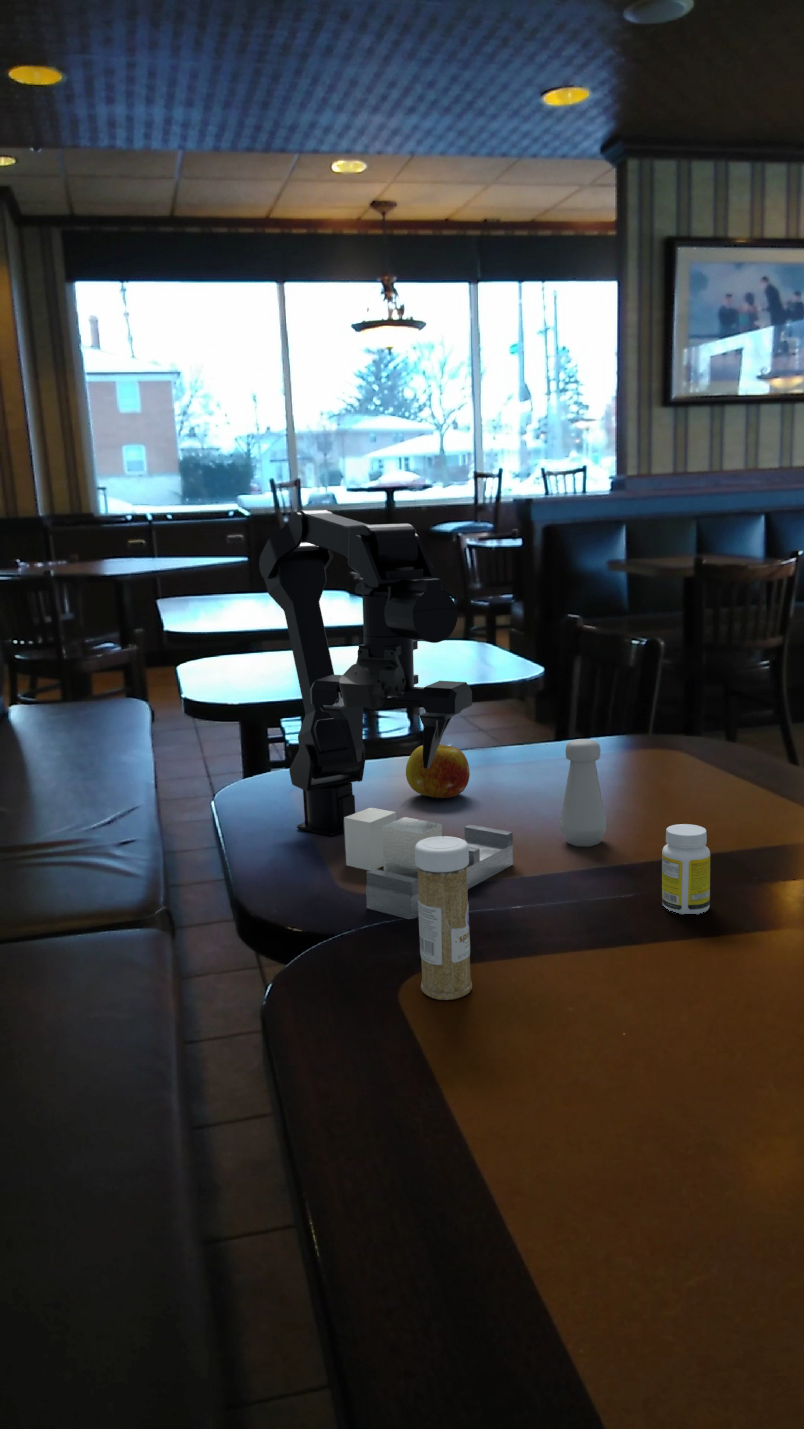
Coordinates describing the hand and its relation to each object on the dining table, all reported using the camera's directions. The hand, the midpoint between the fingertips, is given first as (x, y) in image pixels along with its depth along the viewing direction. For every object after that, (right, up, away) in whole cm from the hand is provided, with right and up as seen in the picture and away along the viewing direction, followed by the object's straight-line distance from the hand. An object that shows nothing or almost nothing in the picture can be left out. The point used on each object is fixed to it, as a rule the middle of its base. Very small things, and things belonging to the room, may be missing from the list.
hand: (391, 764), depth 119 cm
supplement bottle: (+31, -14, -15) cm, 37 cm away
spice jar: (+5, -18, -32) cm, 37 cm away
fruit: (+7, -7, +30) cm, 32 cm away
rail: (+6, -13, -6) cm, 16 cm away
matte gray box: (-2, -12, +2) cm, 12 cm away
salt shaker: (+24, -10, +7) cm, 27 cm away
